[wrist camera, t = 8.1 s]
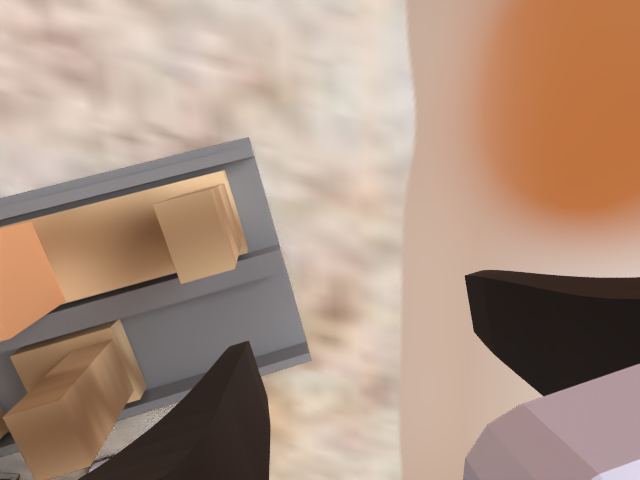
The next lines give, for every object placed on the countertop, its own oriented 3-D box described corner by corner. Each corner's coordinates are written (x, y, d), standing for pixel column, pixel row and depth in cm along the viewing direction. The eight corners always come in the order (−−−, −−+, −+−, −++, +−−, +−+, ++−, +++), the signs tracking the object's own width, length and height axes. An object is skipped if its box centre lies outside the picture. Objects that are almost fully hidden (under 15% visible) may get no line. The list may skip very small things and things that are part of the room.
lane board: (308, 345, 22) (312, 362, 20) (-82, 465, 20) (-117, 495, 18) (249, 138, 19) (247, 134, 18) (-211, 251, 17) (-268, 261, 15)
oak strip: (248, 247, 20) (242, 283, 14) (11, 312, 19) (-108, 382, 13) (224, 170, 19) (207, 171, 13) (-26, 233, 18) (-176, 268, 12)
